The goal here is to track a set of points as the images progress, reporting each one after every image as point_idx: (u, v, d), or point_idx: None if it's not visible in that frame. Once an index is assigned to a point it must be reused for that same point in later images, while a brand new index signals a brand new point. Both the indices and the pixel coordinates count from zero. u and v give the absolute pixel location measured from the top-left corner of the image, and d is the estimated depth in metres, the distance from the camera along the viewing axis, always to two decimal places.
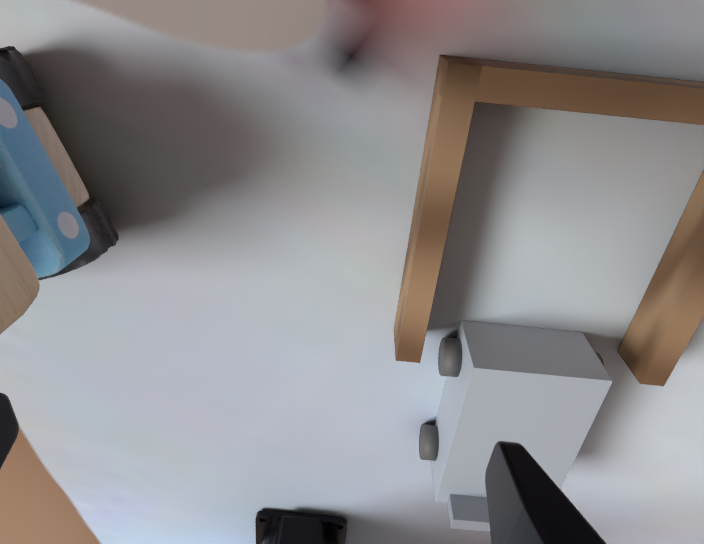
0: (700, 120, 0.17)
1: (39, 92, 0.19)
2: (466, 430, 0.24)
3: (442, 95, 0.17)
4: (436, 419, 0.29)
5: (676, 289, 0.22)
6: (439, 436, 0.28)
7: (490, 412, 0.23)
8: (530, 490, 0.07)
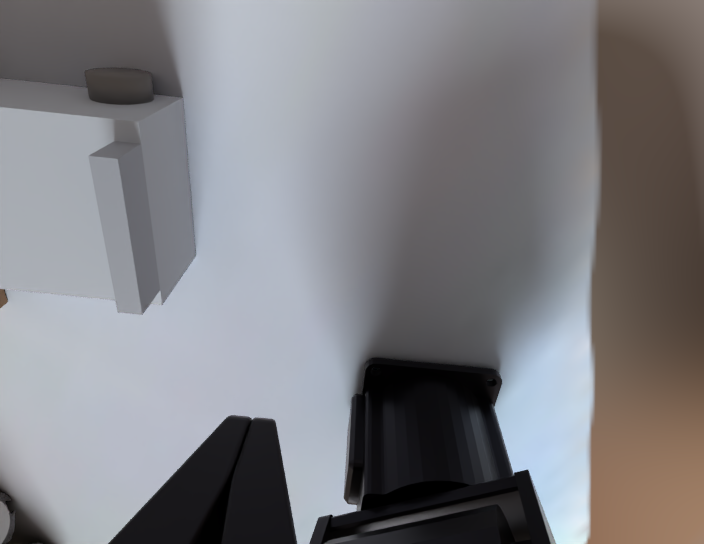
0: None
1: None
2: None
3: None
4: None
5: None
6: None
7: None
8: (247, 463, 0.07)
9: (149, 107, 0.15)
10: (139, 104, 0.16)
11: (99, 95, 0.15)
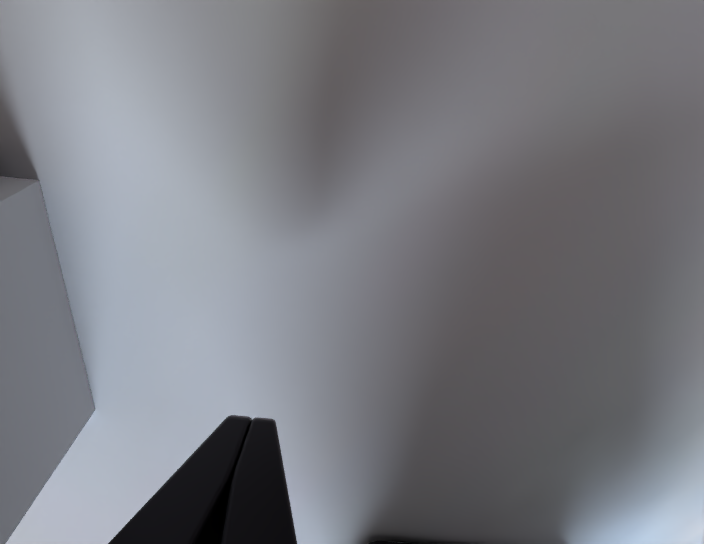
0: None
1: None
2: None
3: None
4: None
5: None
6: None
7: None
8: (247, 463, 0.07)
9: None
10: None
11: None
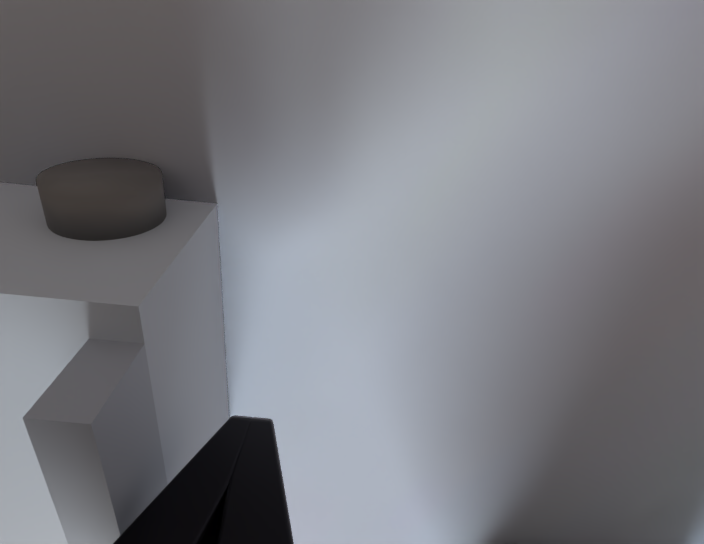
0: None
1: None
2: None
3: None
4: None
5: None
6: None
7: None
8: (244, 463, 0.07)
9: (159, 244, 0.08)
10: (140, 237, 0.08)
11: (63, 225, 0.08)
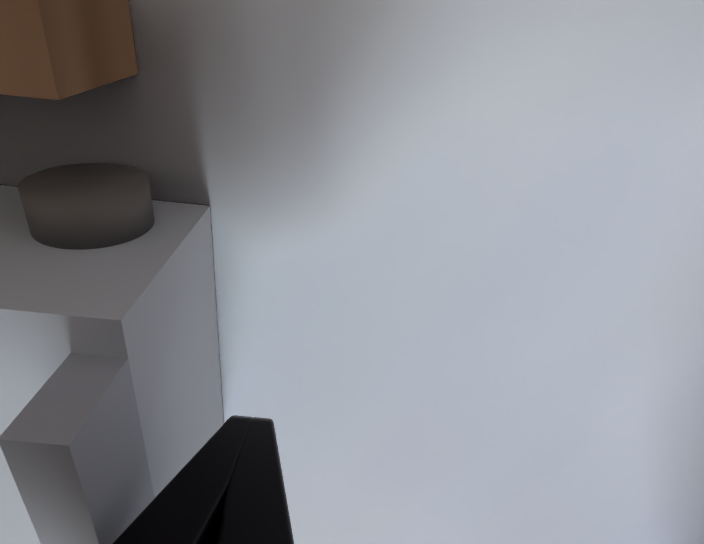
0: None
1: None
2: None
3: None
4: None
5: None
6: None
7: None
8: (244, 463, 0.07)
9: (146, 253, 0.08)
10: (126, 246, 0.08)
11: (46, 233, 0.08)
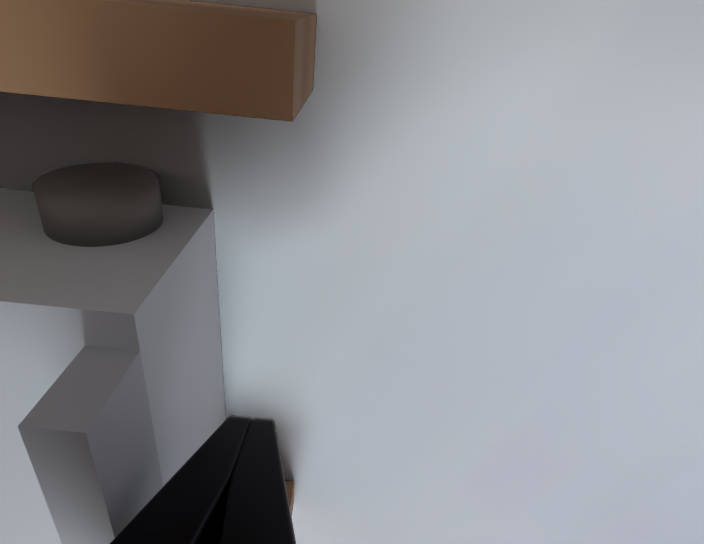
0: None
1: None
2: None
3: None
4: None
5: None
6: None
7: None
8: (246, 463, 0.07)
9: (155, 250, 0.08)
10: (136, 243, 0.08)
11: (60, 231, 0.08)
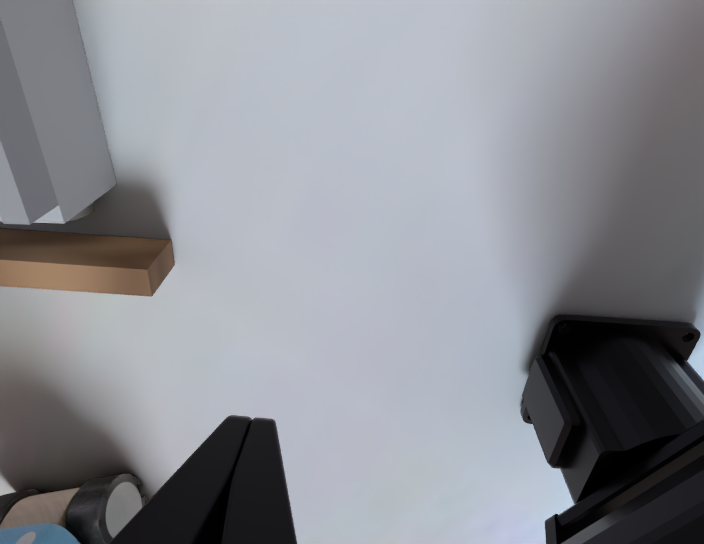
0: None
1: (10, 498, 0.27)
2: None
3: None
4: None
5: None
6: None
7: None
8: (247, 464, 0.07)
9: None
10: None
11: None
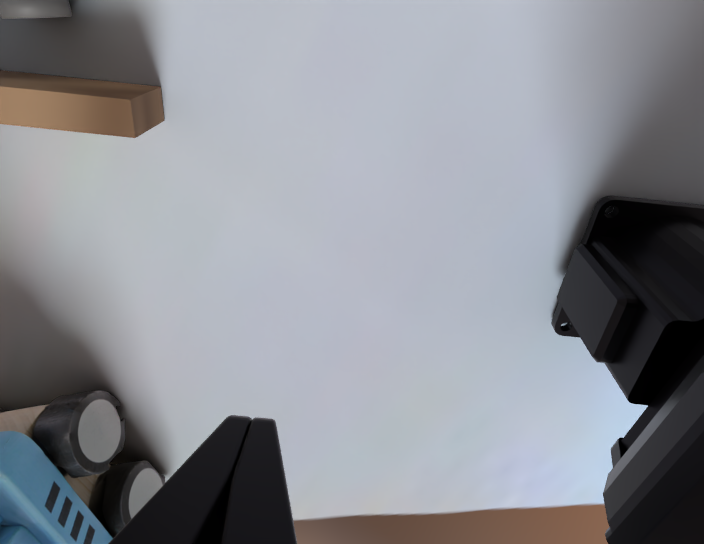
0: None
1: None
2: None
3: None
4: None
5: None
6: None
7: None
8: (247, 463, 0.07)
9: None
10: None
11: None
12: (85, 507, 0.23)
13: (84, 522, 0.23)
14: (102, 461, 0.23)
